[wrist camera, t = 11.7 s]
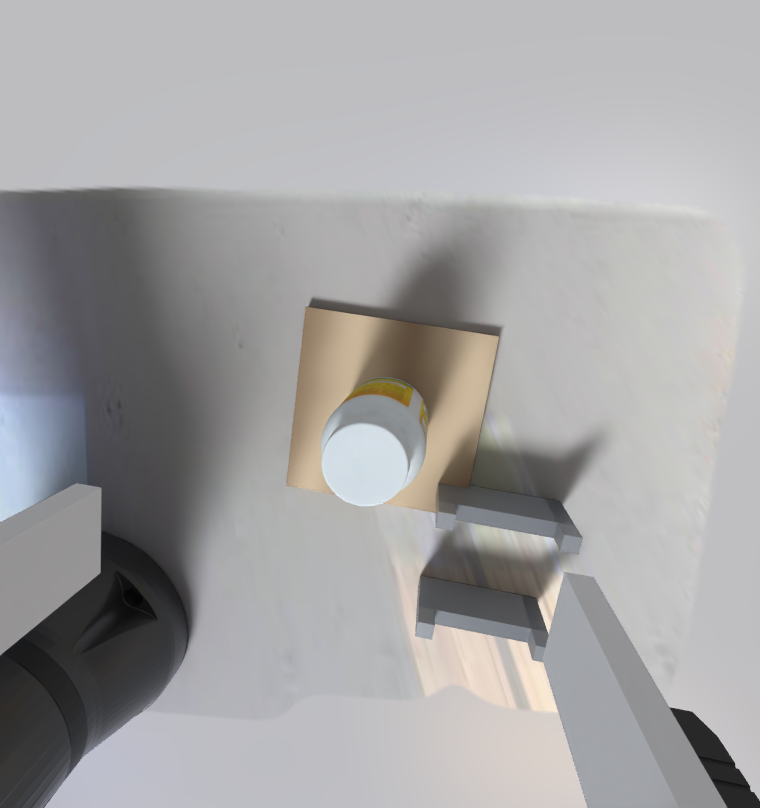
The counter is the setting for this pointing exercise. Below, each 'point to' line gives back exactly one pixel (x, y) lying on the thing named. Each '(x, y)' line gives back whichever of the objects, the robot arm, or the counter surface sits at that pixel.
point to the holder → (485, 605)
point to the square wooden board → (401, 359)
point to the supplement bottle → (375, 442)
